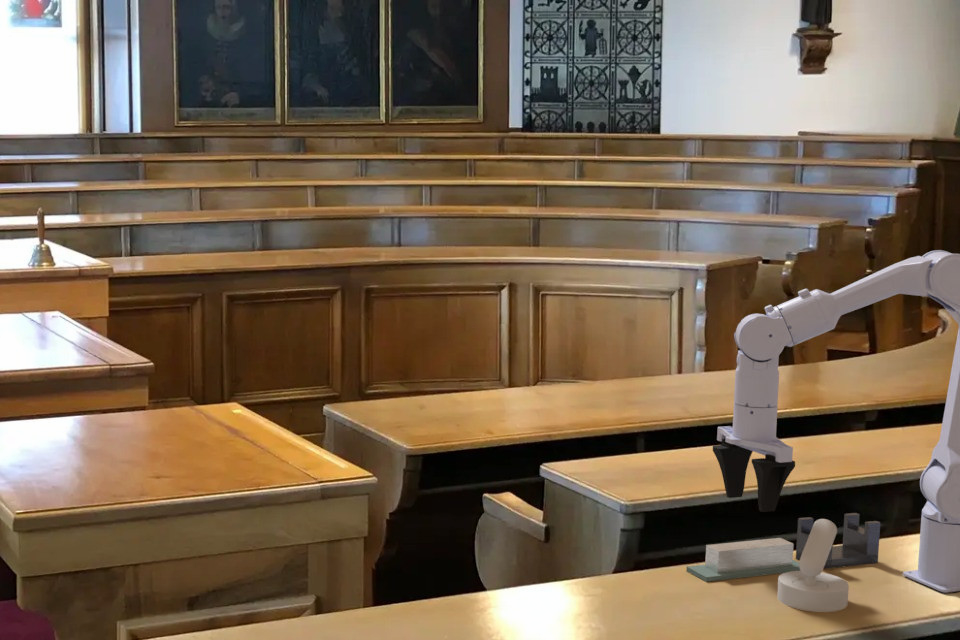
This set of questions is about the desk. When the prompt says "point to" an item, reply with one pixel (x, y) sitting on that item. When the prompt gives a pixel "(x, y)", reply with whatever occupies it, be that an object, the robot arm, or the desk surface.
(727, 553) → the silver rail
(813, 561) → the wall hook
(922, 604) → the desk surface
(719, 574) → the rubber mat
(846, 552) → the dark grey slotted rack
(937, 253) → the robot arm
